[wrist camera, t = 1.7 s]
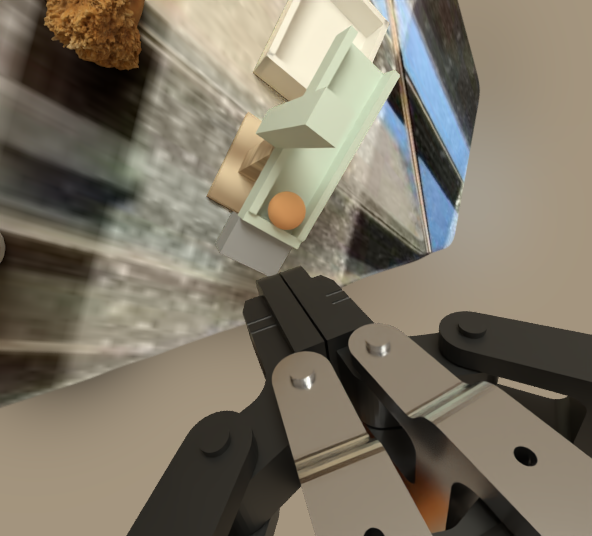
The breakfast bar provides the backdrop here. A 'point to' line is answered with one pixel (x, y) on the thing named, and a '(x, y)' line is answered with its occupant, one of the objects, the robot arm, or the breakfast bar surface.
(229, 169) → the fulcrum stand
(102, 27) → the stuffed squirrel
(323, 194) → the tilting chute
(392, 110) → the breakfast bar surface
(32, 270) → the breakfast bar surface
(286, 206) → the ball
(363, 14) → the tub
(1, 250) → the coffee cup
